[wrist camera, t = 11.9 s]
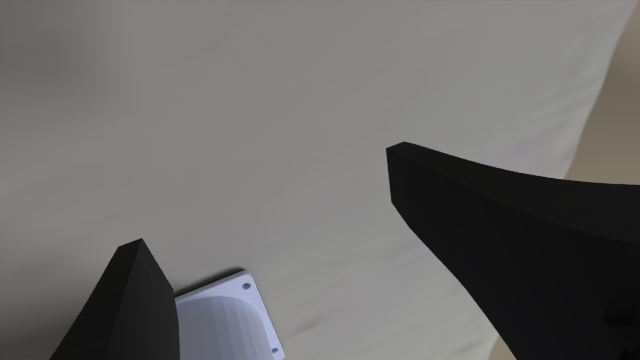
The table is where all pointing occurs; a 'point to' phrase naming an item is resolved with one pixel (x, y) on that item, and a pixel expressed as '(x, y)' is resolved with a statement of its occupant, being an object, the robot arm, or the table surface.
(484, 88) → the table surface
